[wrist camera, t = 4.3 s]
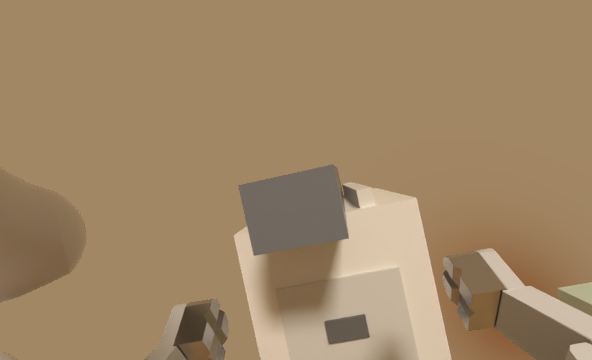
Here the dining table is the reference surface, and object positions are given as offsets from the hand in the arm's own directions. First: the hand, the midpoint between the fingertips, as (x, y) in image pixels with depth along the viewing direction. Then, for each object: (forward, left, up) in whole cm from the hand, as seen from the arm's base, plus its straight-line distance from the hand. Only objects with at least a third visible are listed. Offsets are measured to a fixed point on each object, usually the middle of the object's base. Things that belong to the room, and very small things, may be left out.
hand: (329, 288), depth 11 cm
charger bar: (+4, +11, +1) cm, 11 cm away
